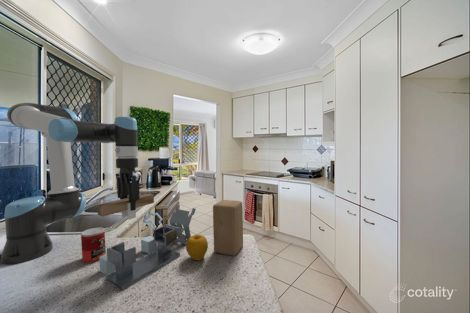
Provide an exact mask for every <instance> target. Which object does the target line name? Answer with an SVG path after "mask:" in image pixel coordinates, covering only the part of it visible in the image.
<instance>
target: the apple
mask: <svg viewBox="0 0 470 313" xmlns="http://www.w3.org/2000/svg"><path fill="white" fill-rule="evenodd" d="M186 240H187V239H186ZM186 243H187V244H186V245H185V249H186V253H187V254H188V256H189V257H190V258H191V259H192V260H194V261H201V260H202V259H204V257H205V255H206V254H207V251H208V248H209V244H208V243H209V242H208V240H207V238H206V236H205V235H202V234H194V235H191V237H190V238H189V239H188V240H187V242H186Z"/></svg>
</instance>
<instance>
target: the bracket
mask: <svg viewBox="0 0 470 313" xmlns="http://www.w3.org/2000/svg"><path fill="white" fill-rule="evenodd" d="M179 208H180V205H179V204H176V206H175V209H174V210H173V212H172V213H171V216H170V219H169V224H165V223H164V224H163V226H167V227H171V228H174V229H177V239H176V240H175V239H174V240H175V242H174V243H177V244H178V243H181V244H182V245H185V246H186V244H187V240H188V239H189V238H190V237H191V236H192V235H191V230H190V224H191V220H192V217H193V216H194V215H195V214H196V210H197V209H196V208H194V207H193V208H192V210H191V211H189V210H183V209H179Z"/></svg>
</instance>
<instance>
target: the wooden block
mask: <svg viewBox="0 0 470 313" xmlns="http://www.w3.org/2000/svg"><path fill="white" fill-rule="evenodd" d="M243 214H244V213H243V201H241V200H230V199H229V200H228V199H221V200H219V201H218V202H217V203H215V204H213V206H212V221H213V222H212V223H213V224H212V226H213V228H212V229H213V231H212V232H213V251H214V253H218V254H223V255H227V256H232V257H233V256H237V254H238V253H239V252H240V250H241V249H242V247H243V246H244V222H243V221H244V220H243V219H244V216H243Z"/></svg>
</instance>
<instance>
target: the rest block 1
mask: <svg viewBox="0 0 470 313" xmlns="http://www.w3.org/2000/svg"><path fill="white" fill-rule="evenodd" d="M98 262H99V271H100V272H101V273H103V274H104V275H105V276H107V275H109V274H111V273H113V272H115V271H116V269H115V265H114V264H113V263H111V262H109V261H107V253H106V254H105V255H103V256H100V257H99V261H98Z"/></svg>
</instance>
